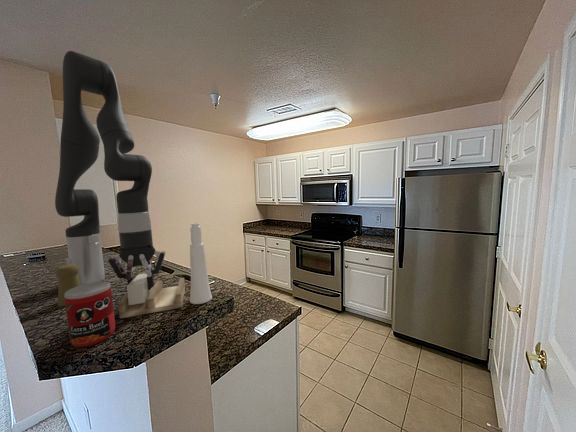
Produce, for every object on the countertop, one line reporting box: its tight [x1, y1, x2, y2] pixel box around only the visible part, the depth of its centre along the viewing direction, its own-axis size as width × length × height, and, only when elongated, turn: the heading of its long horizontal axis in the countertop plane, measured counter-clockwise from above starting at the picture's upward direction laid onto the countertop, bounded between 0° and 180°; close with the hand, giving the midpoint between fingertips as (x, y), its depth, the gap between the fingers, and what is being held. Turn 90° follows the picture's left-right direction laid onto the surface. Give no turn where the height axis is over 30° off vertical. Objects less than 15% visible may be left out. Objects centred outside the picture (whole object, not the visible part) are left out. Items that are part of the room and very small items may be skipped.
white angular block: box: [126, 273, 154, 305], centre depth 68 cm, size 4×12×5 cm, turn 20°
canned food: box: [64, 281, 116, 348], centre depth 53 cm, size 8×8×11 cm
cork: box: [54, 264, 81, 307], centre depth 72 cm, size 6×6×11 cm
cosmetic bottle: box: [189, 222, 213, 305], centre depth 69 cm, size 6×6×22 cm
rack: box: [117, 277, 186, 319], centre depth 70 cm, size 14×14×4 cm
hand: (141, 289), depth 68 cm, fingers closed on white angular block, 3 cm apart
